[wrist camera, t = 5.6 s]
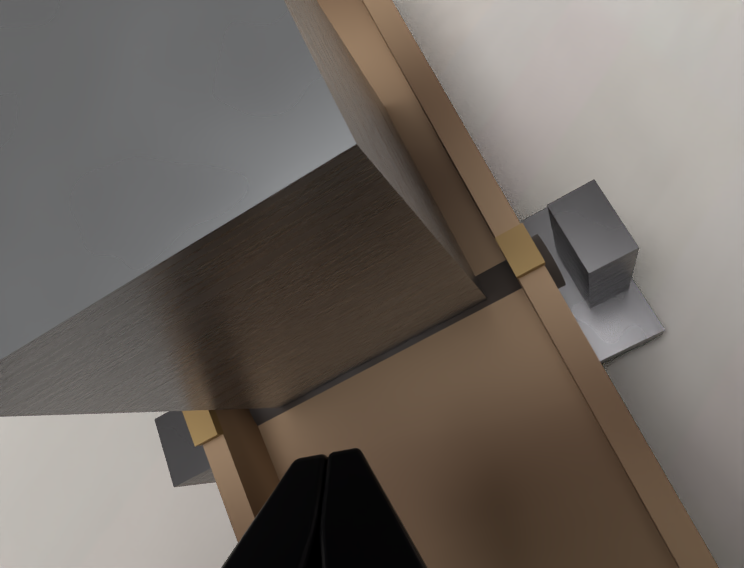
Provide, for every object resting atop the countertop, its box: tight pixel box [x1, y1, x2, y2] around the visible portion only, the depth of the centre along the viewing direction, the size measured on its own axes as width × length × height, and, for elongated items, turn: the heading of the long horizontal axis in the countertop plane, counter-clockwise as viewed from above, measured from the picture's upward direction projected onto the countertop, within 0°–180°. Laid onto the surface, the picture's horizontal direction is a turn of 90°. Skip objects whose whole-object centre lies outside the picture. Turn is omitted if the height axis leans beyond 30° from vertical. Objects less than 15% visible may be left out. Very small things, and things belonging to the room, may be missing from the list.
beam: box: [182, 0, 719, 568], centre depth 13 cm, size 18×8×3 cm, turn 25°
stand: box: [155, 180, 665, 487], centre depth 15 cm, size 4×11×4 cm, turn 115°
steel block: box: [0, 0, 487, 417], centre depth 10 cm, size 5×5×8 cm
